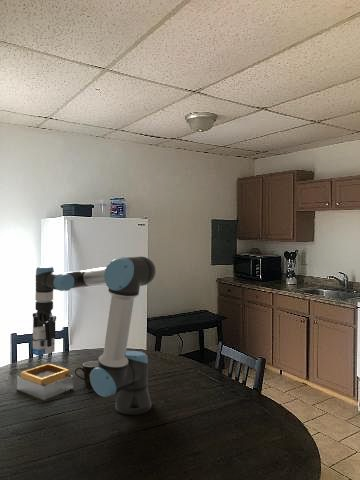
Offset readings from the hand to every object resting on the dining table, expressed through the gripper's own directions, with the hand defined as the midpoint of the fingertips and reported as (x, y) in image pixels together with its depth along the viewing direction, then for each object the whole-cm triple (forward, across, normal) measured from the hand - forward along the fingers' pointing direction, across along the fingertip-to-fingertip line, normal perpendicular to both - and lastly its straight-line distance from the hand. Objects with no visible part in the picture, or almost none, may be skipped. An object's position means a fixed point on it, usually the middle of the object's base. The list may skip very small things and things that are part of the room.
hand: (43, 352), depth 178 cm
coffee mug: (+19, -8, -20) cm, 29 cm away
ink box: (+1, 0, 0) cm, 1 cm away
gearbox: (+19, +6, -5) cm, 21 cm away
